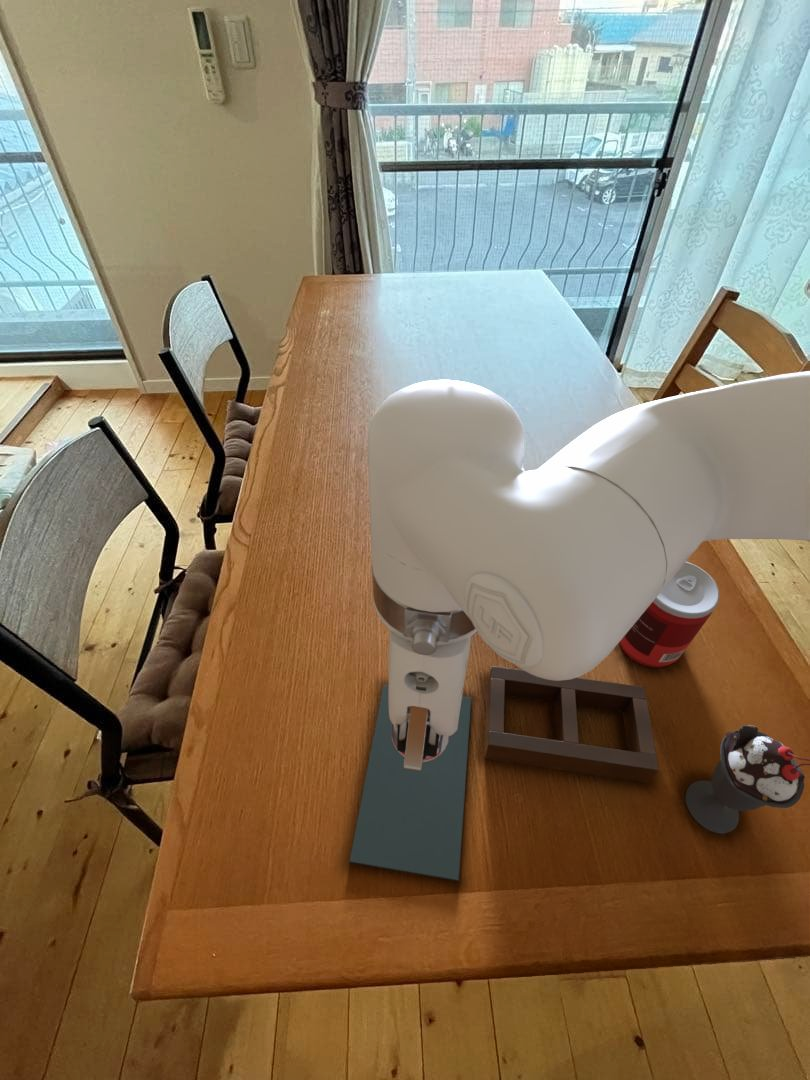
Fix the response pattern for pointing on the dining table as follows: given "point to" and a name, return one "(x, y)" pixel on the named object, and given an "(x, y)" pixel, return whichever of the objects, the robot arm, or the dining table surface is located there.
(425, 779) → the mat
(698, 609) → the canned food
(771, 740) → the sundae
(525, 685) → the holder
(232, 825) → the dining table surface
